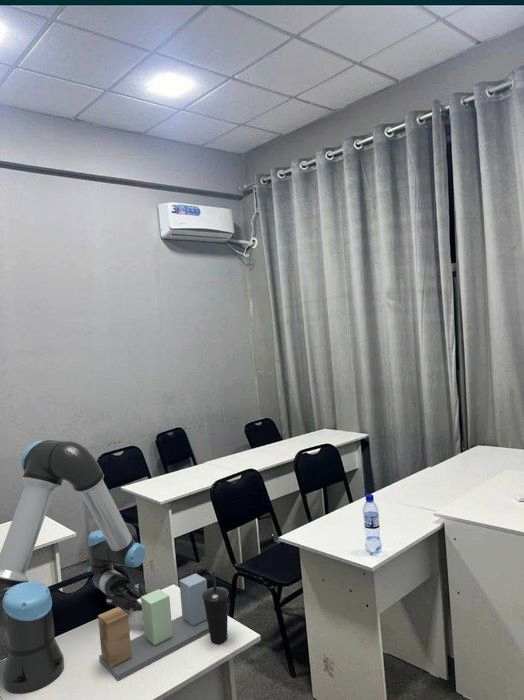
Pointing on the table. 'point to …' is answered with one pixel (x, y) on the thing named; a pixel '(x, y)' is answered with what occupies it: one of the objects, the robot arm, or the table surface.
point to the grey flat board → (157, 647)
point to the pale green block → (156, 616)
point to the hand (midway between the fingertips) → (149, 610)
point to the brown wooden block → (114, 636)
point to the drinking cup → (216, 612)
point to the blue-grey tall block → (193, 598)
